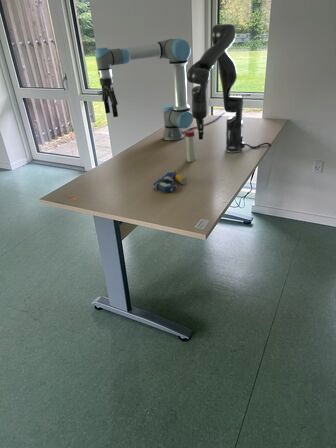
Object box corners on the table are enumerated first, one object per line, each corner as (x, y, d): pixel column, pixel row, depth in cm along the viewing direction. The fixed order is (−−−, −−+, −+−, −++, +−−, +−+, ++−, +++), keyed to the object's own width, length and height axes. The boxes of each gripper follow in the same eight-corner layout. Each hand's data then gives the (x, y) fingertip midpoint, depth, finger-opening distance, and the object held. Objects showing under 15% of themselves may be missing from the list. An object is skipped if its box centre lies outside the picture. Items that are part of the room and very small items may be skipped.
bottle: (190, 162, 204) (189, 133, 195) (185, 160, 207) (184, 132, 198) (196, 160, 206) (195, 132, 197) (191, 158, 209) (190, 130, 200)
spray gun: (192, 178, 182) (167, 175, 189) (191, 170, 180) (167, 168, 186) (176, 195, 167) (150, 192, 173) (175, 187, 165) (149, 184, 171)
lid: (189, 137, 195) (188, 133, 194) (183, 135, 199) (183, 131, 198) (196, 135, 198) (196, 131, 197) (190, 133, 202) (190, 129, 201)
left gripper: (93, 76, 203) (99, 112, 214) (107, 80, 184) (113, 119, 195) (104, 75, 206) (110, 110, 217) (119, 78, 187) (125, 117, 198)
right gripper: (208, 114, 164) (208, 141, 177) (205, 99, 173) (205, 125, 186) (193, 116, 164) (194, 143, 177) (190, 100, 174) (192, 127, 186)
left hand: (111, 114), depth 206 cm, fingers open, 13 cm apart
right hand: (200, 134), depth 181 cm, fingers open, 8 cm apart
